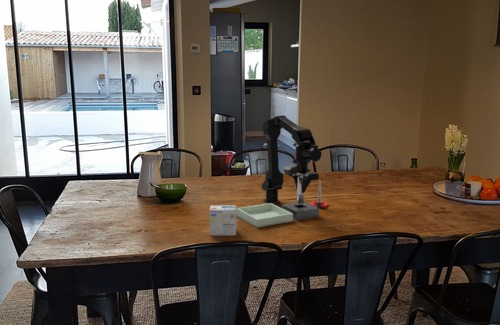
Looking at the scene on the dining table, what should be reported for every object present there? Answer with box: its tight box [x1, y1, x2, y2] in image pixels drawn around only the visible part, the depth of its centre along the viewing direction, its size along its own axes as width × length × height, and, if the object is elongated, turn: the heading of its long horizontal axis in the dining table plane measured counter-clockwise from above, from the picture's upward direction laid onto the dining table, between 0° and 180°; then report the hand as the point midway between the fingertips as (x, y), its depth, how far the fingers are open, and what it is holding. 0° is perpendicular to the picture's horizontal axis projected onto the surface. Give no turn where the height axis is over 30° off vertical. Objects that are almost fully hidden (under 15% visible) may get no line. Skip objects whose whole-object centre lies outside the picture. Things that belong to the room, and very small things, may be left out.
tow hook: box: [310, 180, 329, 209], centre depth 237 cm, size 8×13×9 cm
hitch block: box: [281, 201, 320, 221], centre depth 223 cm, size 12×12×4 cm
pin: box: [296, 176, 305, 204], centre depth 221 cm, size 3×3×12 cm
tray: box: [236, 203, 294, 229], centre depth 217 cm, size 18×18×4 cm
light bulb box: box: [209, 204, 238, 236], centre depth 198 cm, size 11×7×11 cm, turn 92°
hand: (300, 191), depth 221 cm, fingers closed on pin, 3 cm apart
